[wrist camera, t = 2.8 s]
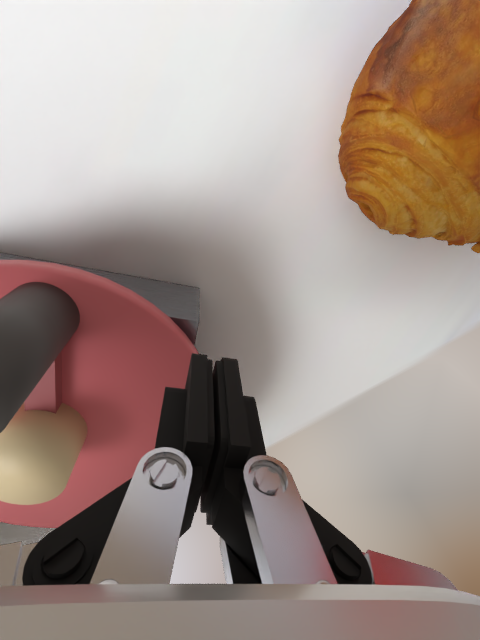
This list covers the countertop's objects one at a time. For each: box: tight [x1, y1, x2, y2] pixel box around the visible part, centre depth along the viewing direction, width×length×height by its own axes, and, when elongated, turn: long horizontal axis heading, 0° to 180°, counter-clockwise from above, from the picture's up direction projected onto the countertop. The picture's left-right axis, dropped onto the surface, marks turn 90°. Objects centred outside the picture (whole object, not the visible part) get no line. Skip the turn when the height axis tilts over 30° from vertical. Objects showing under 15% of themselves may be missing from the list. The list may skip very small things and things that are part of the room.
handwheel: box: [0, 260, 199, 528], centre depth 15 cm, size 18×18×7 cm
